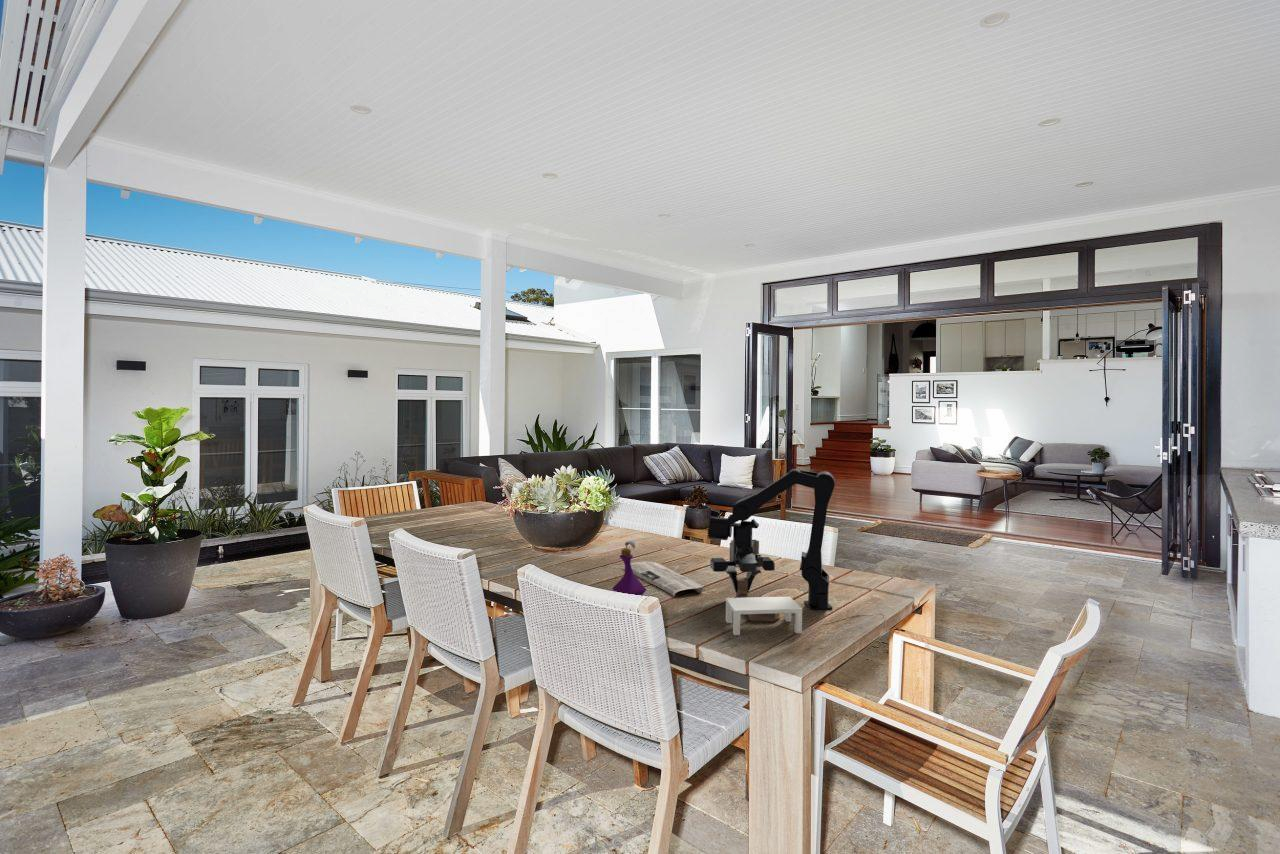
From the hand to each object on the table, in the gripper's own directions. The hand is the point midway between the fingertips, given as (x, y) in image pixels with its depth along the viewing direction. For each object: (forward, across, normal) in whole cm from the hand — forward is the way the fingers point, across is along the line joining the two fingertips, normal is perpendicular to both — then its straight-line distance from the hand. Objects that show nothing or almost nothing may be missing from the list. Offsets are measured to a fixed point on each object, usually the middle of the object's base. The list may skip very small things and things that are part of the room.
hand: (741, 592), depth 197 cm
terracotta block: (+2, +4, -16) cm, 16 cm away
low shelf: (+2, 0, -23) cm, 23 cm away
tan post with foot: (+2, +1, -9) cm, 9 cm away
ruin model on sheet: (+3, +12, +41) cm, 43 cm away
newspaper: (+3, -21, +20) cm, 29 cm away
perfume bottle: (+2, -34, +2) cm, 34 cm away
